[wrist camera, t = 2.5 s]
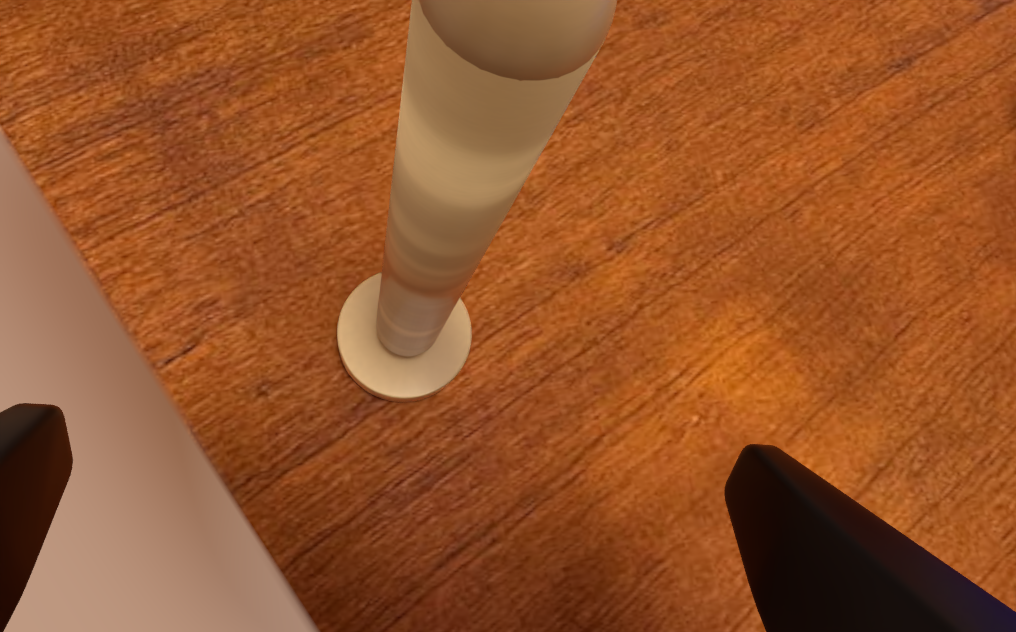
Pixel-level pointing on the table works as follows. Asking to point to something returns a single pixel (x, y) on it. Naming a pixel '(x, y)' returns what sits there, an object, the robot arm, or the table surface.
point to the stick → (460, 173)
